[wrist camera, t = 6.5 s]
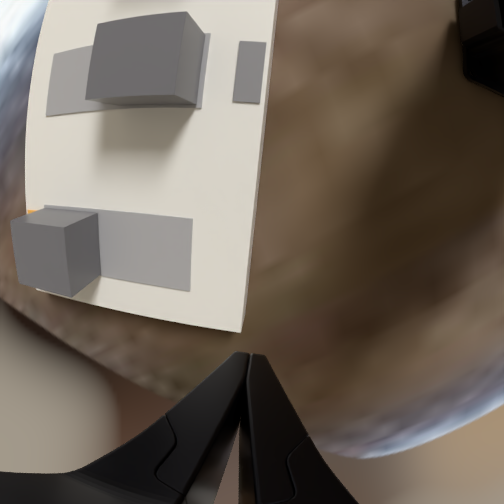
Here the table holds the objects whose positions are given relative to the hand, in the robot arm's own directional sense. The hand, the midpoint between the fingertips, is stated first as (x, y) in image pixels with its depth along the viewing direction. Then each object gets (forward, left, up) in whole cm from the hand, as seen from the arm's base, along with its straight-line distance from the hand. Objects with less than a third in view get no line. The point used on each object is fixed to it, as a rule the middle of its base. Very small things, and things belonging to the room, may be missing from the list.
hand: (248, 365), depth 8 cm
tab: (+11, 0, -7) cm, 13 cm away
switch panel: (+8, -9, -9) cm, 15 cm away
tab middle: (+6, -9, -7) cm, 13 cm away
